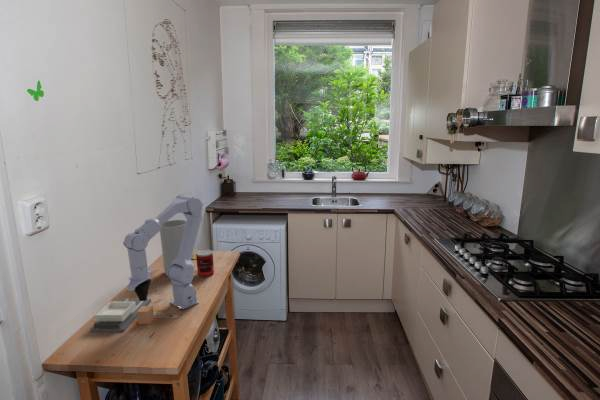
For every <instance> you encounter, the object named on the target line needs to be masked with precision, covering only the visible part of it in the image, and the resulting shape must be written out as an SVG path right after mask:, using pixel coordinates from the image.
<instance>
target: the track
mask: <svg viewBox="0 0 600 400" xmlns="http://www.w3.org/2000/svg"><path fill="white" fill-rule="evenodd" d="M119 302H136V308H135V309H134V310H133V311H132V313H130V314H129V315H128V317H127V318H126V319H125V320H124V321H123V322H119V321H108V322H96V321H95V322H94V323H93V326H92V327H91V328H90V332H93V333H95V332H97V333H98V332H100V333H101V332H103V333H104V332H106V333H108V332H109V333H110V332H115V333H117V332H118V333H119V332H120V333H121V332H125V331H126V330H127V329H128V328H129V326H130V325H131V324H132V323H133V322H134V321H135V319H136V318H137V319H138V315H137V311H138V310H139V309H140V308H141V307H142V306H149V304H150V303H151V302H152V300H151V298H150V299H149V298H147V300H146V301H140V300H139V298H138V299H135V298H133V299H132V298H131V299H130V298H127V299H126V298H125V299H124V298H123V299H121V300H120V301H119Z"/></svg>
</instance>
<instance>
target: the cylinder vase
mask: <svg viewBox="0 0 600 400" xmlns="http://www.w3.org/2000/svg"><path fill="white" fill-rule="evenodd" d="M186 222H187V220H184V219H172V220H171V219H170V220H168V221H167V222H165V223H164V224H163V225H162V226H161V230H160V231H159V233H160V234H159V235H160V242H161V243H160V245H161V251H162V259H163V268H164V274H165V276H167V271H168V268H169V267H170V266H171V263H172V261H173V260H174V259H175V258H177V256H178V252H179V248H180V244H181V241H182V237H183V233H184V229H185V225H186Z"/></svg>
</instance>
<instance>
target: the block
mask: <svg viewBox="0 0 600 400" xmlns="http://www.w3.org/2000/svg"><path fill="white" fill-rule="evenodd" d="M137 315H138V316H137V323H138V325H150V324H151V323H152V322H153V320H154V319H155V315H154V307H153V305H152V306H151V305H150V306H149V305H147V306H142V307H141V308H140V309H139V310H138V311H137Z"/></svg>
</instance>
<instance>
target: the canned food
mask: <svg viewBox="0 0 600 400" xmlns="http://www.w3.org/2000/svg"><path fill="white" fill-rule="evenodd" d="M195 253H196V254H195V257H196V259H195V260H196V268H197V275H198V276H199V277H203V278H207V277H210V276H213V275H214V273H215V265H214V253H213V250H211V249H201V250H198V251H196V252H195Z"/></svg>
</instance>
